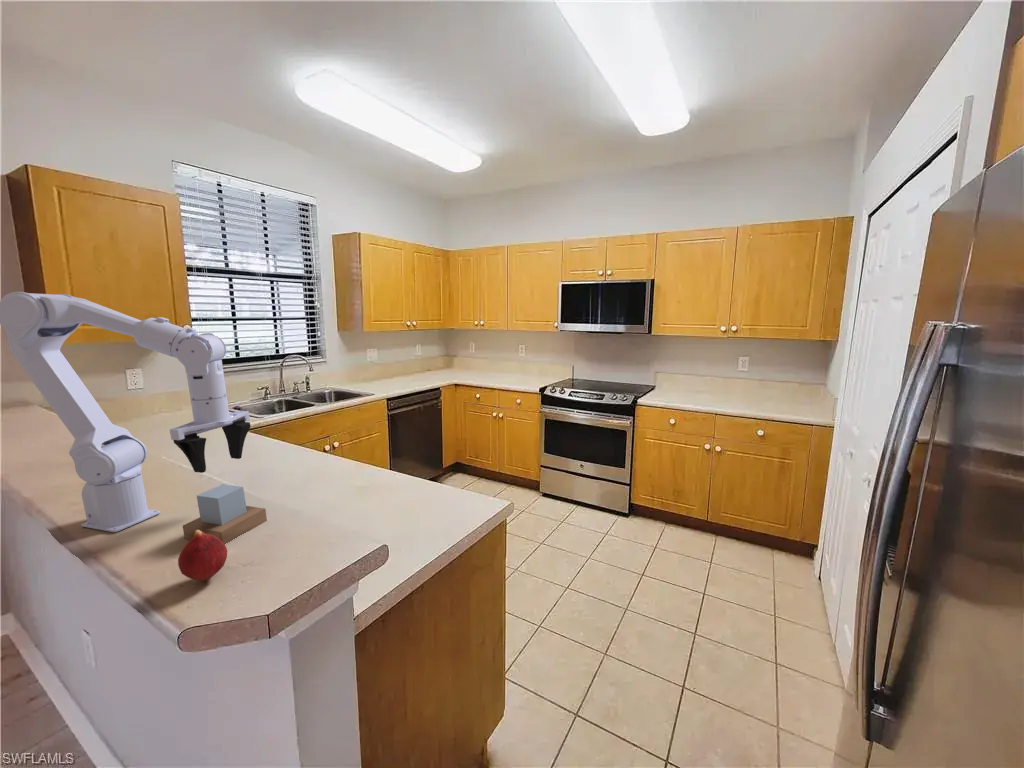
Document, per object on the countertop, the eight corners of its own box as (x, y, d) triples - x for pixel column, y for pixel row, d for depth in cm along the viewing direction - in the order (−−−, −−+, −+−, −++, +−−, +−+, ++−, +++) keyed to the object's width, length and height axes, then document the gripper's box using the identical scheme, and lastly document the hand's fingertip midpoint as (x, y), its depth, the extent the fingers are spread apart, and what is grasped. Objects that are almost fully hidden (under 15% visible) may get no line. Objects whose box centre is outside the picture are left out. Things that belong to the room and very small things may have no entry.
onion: (238, 567, 66) (231, 520, 65) (214, 591, 60) (205, 540, 59) (200, 569, 66) (192, 521, 65) (172, 593, 60) (163, 541, 59)
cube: (200, 521, 76) (196, 495, 75) (226, 508, 81) (222, 484, 80) (222, 525, 75) (217, 498, 74) (246, 511, 79) (243, 486, 78)
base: (185, 541, 75) (182, 525, 75) (231, 517, 84) (229, 503, 83) (223, 548, 73) (221, 532, 72) (267, 523, 81) (265, 508, 81)
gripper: (186, 406, 73) (197, 480, 76) (257, 390, 87) (265, 454, 89) (156, 404, 75) (169, 477, 78) (231, 389, 89) (239, 451, 91)
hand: (219, 464), depth 84 cm, fingers open, 7 cm apart
